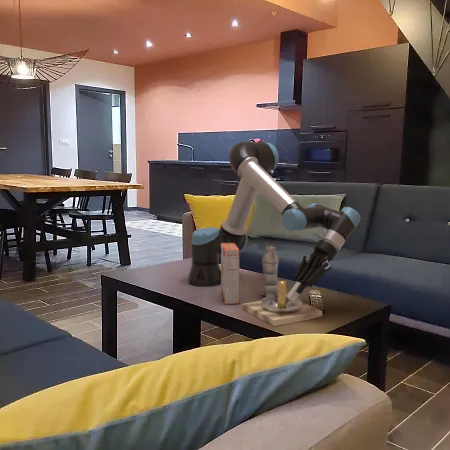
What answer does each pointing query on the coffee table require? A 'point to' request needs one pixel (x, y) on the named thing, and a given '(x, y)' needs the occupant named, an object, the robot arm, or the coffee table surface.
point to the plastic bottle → (270, 271)
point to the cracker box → (230, 273)
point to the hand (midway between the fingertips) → (289, 299)
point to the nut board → (281, 314)
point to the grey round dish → (281, 301)
